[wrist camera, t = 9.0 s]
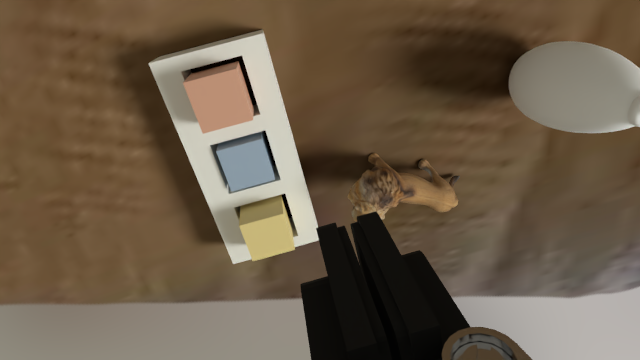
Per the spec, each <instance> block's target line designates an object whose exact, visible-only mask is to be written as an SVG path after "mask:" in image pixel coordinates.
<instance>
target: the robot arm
mask: <svg viewBox="0 0 640 360" xmlns="http://www.w3.org/2000/svg"><path fill="white" fill-rule="evenodd" d="M351 229H352V234H353V238H354V242H355V247H356V251H357V255H358V259H359V262H358V260H357V257H356V254H355V252H354V249H353V246H352V244H351V241H350V239H349V236H348V233H347V231H346V228H345V226H341V227H338V228H337V226H336V223H332V224H328V225H325V226H321V227H318V228H316V230H317V234H318V238H319V242H320V246H321V250H322V254H323V258H324V262H325V266H326V270H327V274H328V276H327V277H324V278H320V279H317V280H313V281H310V282H306V283H302V284H301V293H302V299H303V306H304V313H305V319H306V326H307V333H308V340H309V345H310V346H309V347H310V353H311V360H532V359H531V358H530V357H529V356H528V355H527V354H526V353H525V352H524V351H523V350H522V349H521V348H520V347H519V346H518V344H517V343H515V342H514V341H513V340H512V339H510V338H509V337H508V336H506V335H505V334H502V333H500V332H498V331H496V330H493V329H489V328H484V327H470V326H469V324H468V323H467V321H466V320H465V318H464V316H463V315H462V313H461V312H460V310H459V309H458V307H457V305H456V304H455V302H454V301H453V299H452V298H451V296H450V295H449V293H448V291H447V290H446V288H445V287H444V285H443V284H442V282H441V281H440V279H439V277H438V276H437V274H436V273H435V271H434V270H433V268H432V267H431V265H430V263H429V262H428V260H427V259H426V257H425V256H424V254H423V253H422V252H421V251H415V252H412V253H408V254H405V255H401V254H400V252H399V250H398V249H397V247H396V245H395V243H394V241H393V240H392V238H391V236H390V234H389V232H388V231H387V229H386V227H385V225H384V223H383V222H382V220H381V218H380V216H379V214H378V213H377V211H375V212H371V213H368V214H364V215H361V216H357V222H356V223H352V224H351ZM359 264H360V265H359Z"/></svg>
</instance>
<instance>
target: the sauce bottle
mask: <svg viewBox="0 0 640 360" xmlns="http://www.w3.org/2000/svg"><path fill="white" fill-rule="evenodd" d="M508 84H509V92H510V96H511V98H512V100H513V102H514V104H515V105H516V107H517V108H518V109H519V110H520V111H521V112H522V113H523V114H524V115H526V116H527V117H529V118H530V119H532V120H534V121H536V122H538V123H540V124H542V125H545V126H547V127H551V128H554V129H558V130H563V131H568V132H577V133H604V132H613V131H619V130H624V129H628V128H631V127H634V126H637V127H640V68H639V67H637V66H636V65H635V64H634V63H632V62H631V61H629V60H628V59H626V58H625V57H623V56H621V55H620V54H618V53H616V52H614V51H612V50H609V49H607V48H604V47H600V46H597V45H594V44H590V43H584V42H573V41H562V42H553V43H548V44H544V45H541V46H538V47H536V48H534V49H532V50H530V51H528V52H526V53H525V54H523V55H522V56H521V57H520V58H519V59H518V60H517V61H516V62H515V64H514V66H513V67H512V70H511V72H510V76H509V82H508Z"/></svg>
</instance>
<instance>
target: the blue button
mask: <svg viewBox="0 0 640 360" xmlns="http://www.w3.org/2000/svg"><path fill="white" fill-rule="evenodd" d="M216 153H217V155H218V158H219V160H220V163H221V166H222V168H223V171H224V173H225V176H226V179H227V181H228V184H229V186H230V189H231V192H232V191H236V190H240V189H243V188H247V187H251V186H254V185H258V184H261V183H265V182H269V181H272V180H275V175H274V165H273V161H272V158H271V155H270V152H269V148H268V145H267V142H266V139H265V136H264V133H263V131H261V132H258V133H254V134H250V135H247V136H243V137H239V138H235V139H232V140H228V141H224V142H221V143H218V146H217V150H216Z"/></svg>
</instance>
